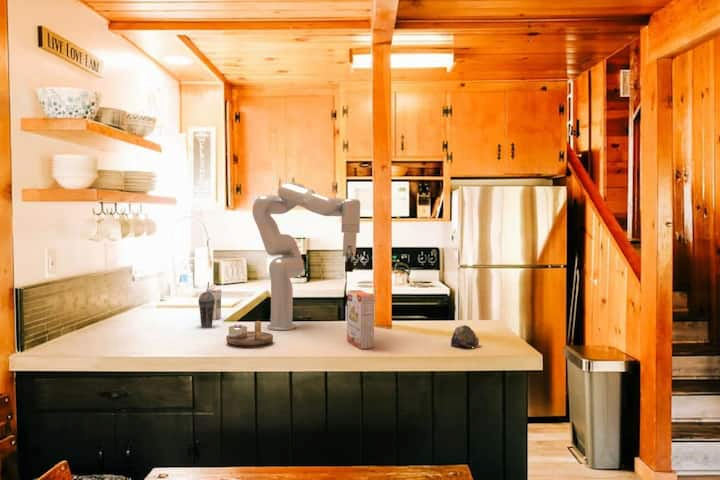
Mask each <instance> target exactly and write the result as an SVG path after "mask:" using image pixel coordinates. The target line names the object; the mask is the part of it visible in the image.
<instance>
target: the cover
mask: <svg viewBox="0 0 720 480" xmlns="http://www.w3.org/2000/svg"><path fill="white" fill-rule="evenodd" d="M247 331H248V326H246V325H242V324H234V325H232V326H231V325H230V326H229V327H228V335H229V339H245V338H247Z"/></svg>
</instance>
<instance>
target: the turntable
mask: <svg viewBox="0 0 720 480" xmlns="http://www.w3.org/2000/svg"><path fill="white" fill-rule="evenodd" d="M273 340H274V335H273V334H272V333H270V332H266V331H262V321H261V320H256V321H254V331H252V330H251V331H248V330H247V338H245V339H229V334H227V335H226V342H227V343H229V344H232V345H236V346H239V345H259V344H262V345H264V344H269V343H271V342H273ZM259 346H260V345H259Z"/></svg>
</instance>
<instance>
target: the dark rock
mask: <svg viewBox="0 0 720 480" xmlns="http://www.w3.org/2000/svg"><path fill="white" fill-rule="evenodd" d="M479 343H480V340H479V337H478V336H476V333H475V331H474V330H472V328H471V327H470V326H469V325H466V324H465V325H460V326H458V327H455V329H454V332H453V333H452V337H451V341H450V347H455V346H456V347H457V346H459V345H460V346H462V347H464V348H466V349H468V348H472V347H475V348H476V347H478V346H479Z"/></svg>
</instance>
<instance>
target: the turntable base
mask: <svg viewBox="0 0 720 480" xmlns="http://www.w3.org/2000/svg"><path fill="white" fill-rule="evenodd" d="M261 345H263V344H259V345H238V346H239V347H257V346H261Z"/></svg>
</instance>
